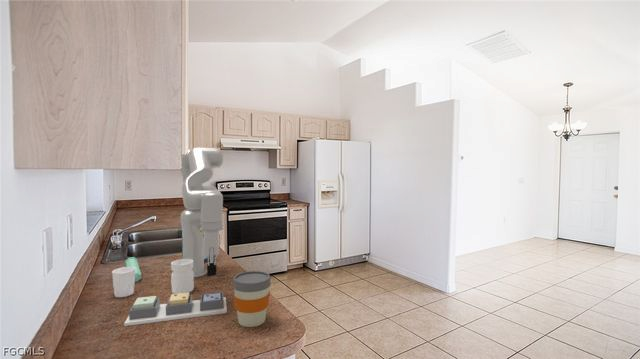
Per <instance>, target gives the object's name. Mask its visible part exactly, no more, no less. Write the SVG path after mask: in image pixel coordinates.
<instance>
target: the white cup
mask: <svg viewBox="0 0 640 359" xmlns="http://www.w3.org/2000/svg"><path fill="white" fill-rule="evenodd" d="M111 274H112V275H111V276H112V286H113V292H114V293H113V294H114V297H115V298H126V297H130V296H132V295H133V294H134V293H135V285H136V284H135V283H136V282H135V268H134V267H126V266H122V267H119V268H118V267H117V268H116V269H113V270H112V271H111Z"/></svg>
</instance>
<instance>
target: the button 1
mask: <svg viewBox="0 0 640 359" xmlns="http://www.w3.org/2000/svg"><path fill="white" fill-rule="evenodd" d="M156 299H157V295H151V296H142V297H136V300H135V301H134V302H135V303H134V302H133V304H134V305H133V304H132V306H133V310H136V309H144V308H153V307H155V305H156Z"/></svg>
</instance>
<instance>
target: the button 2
mask: <svg viewBox="0 0 640 359" xmlns="http://www.w3.org/2000/svg"><path fill="white" fill-rule="evenodd" d="M189 295H190V292H188V293H178V294H174V293H172V294H171V295H170V297H171V298H170V300H169V306H170V305H179V304H188V303H189Z"/></svg>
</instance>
